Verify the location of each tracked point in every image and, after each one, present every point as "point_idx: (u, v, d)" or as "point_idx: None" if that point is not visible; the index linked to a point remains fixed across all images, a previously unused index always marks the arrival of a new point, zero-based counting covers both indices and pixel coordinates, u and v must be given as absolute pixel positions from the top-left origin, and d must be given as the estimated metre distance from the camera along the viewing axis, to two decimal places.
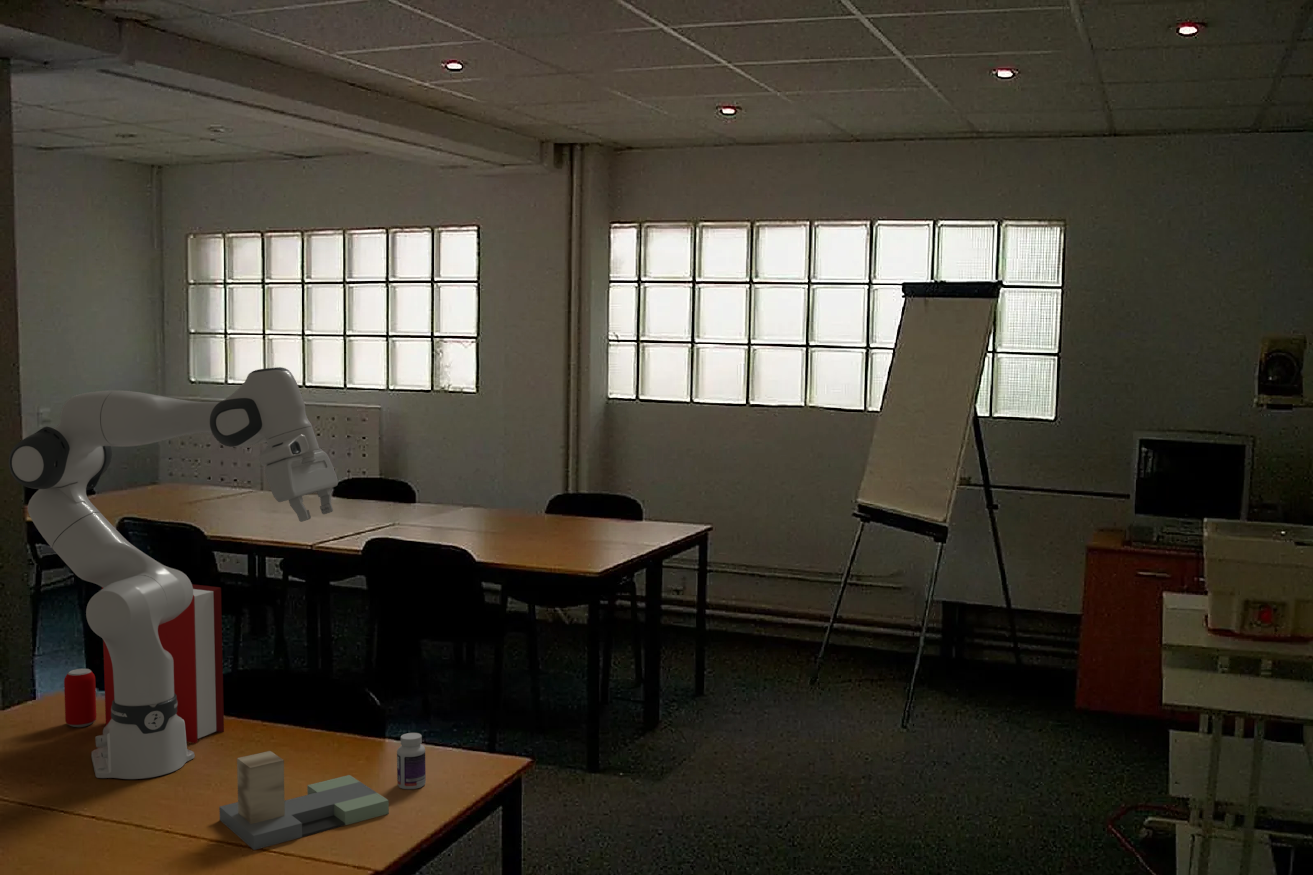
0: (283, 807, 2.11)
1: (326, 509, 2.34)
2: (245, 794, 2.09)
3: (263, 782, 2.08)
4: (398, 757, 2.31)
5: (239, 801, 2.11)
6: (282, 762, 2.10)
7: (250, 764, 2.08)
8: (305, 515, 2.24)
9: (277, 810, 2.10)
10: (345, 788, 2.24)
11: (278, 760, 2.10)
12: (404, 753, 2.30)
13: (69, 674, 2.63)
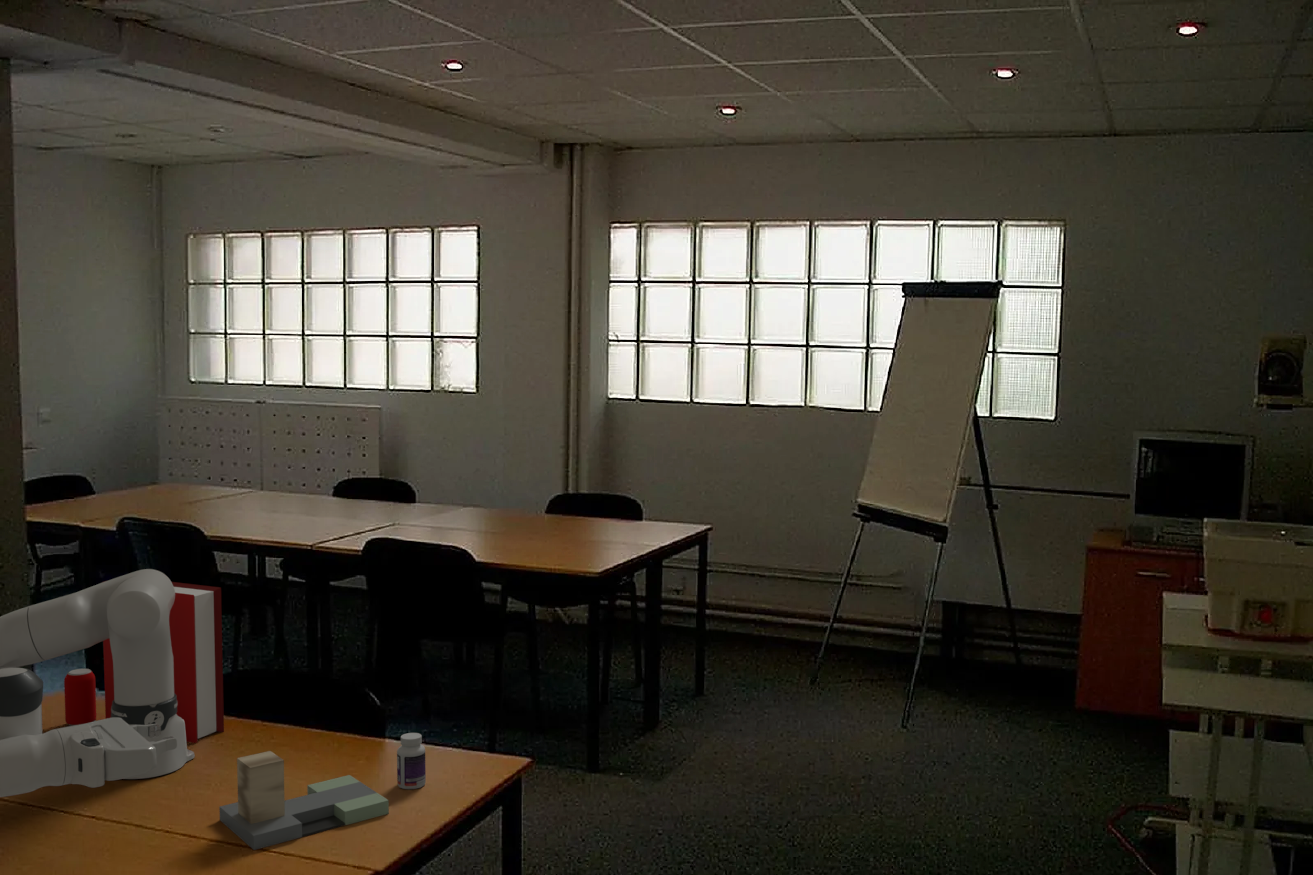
0: (283, 807, 2.11)
1: (155, 729, 2.02)
2: (245, 794, 2.09)
3: (263, 782, 2.08)
4: (398, 757, 2.31)
5: (239, 801, 2.11)
6: (282, 762, 2.10)
7: (250, 764, 2.08)
8: (171, 740, 1.96)
9: (277, 810, 2.10)
10: (345, 788, 2.24)
11: (278, 760, 2.10)
12: (404, 753, 2.30)
13: (69, 674, 2.63)
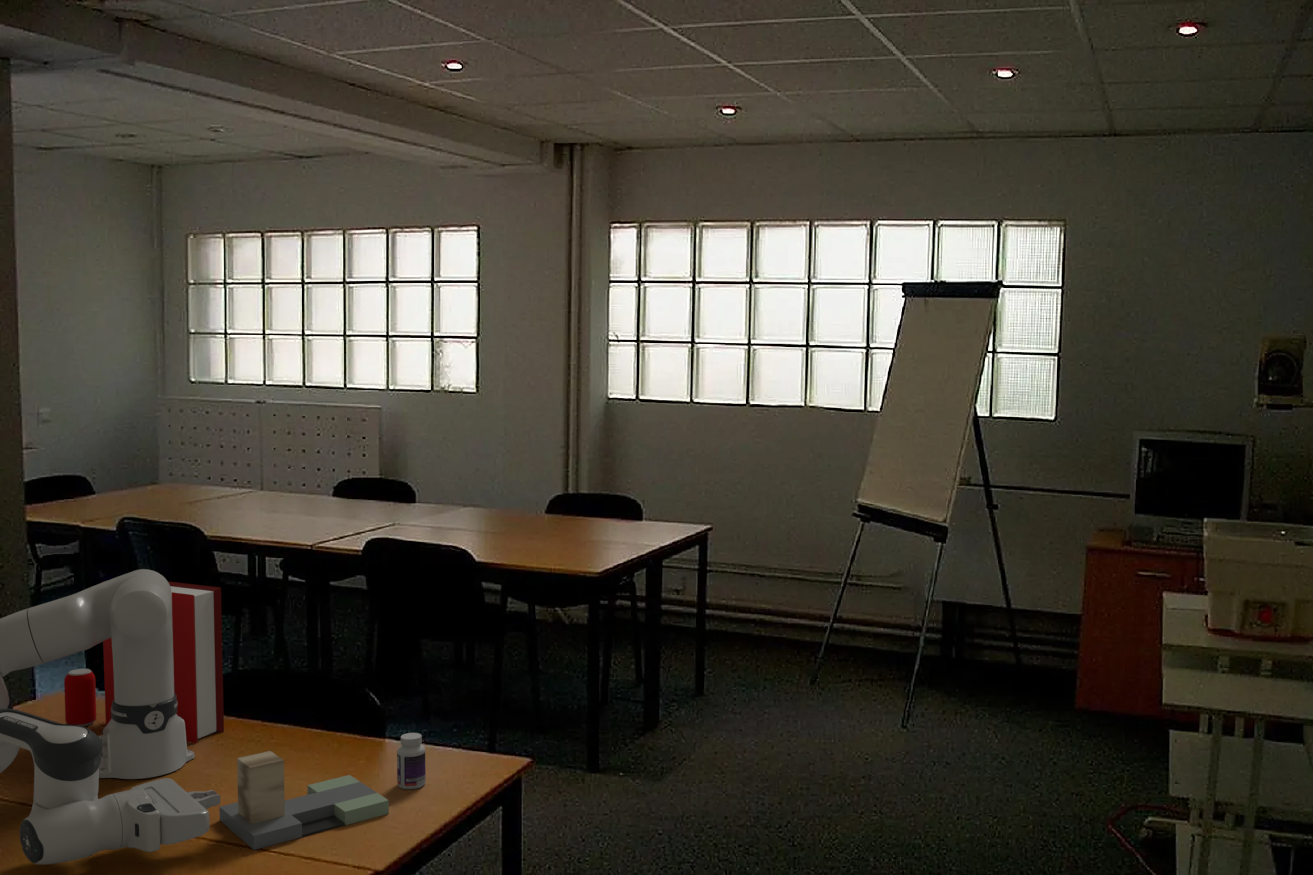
0: (283, 807, 2.11)
1: None
2: (245, 794, 2.09)
3: (263, 782, 2.08)
4: (398, 757, 2.31)
5: (239, 801, 2.11)
6: (282, 762, 2.10)
7: (250, 764, 2.08)
8: (214, 797, 2.05)
9: (277, 810, 2.10)
10: (345, 788, 2.24)
11: (278, 760, 2.10)
12: (404, 753, 2.30)
13: (69, 674, 2.63)
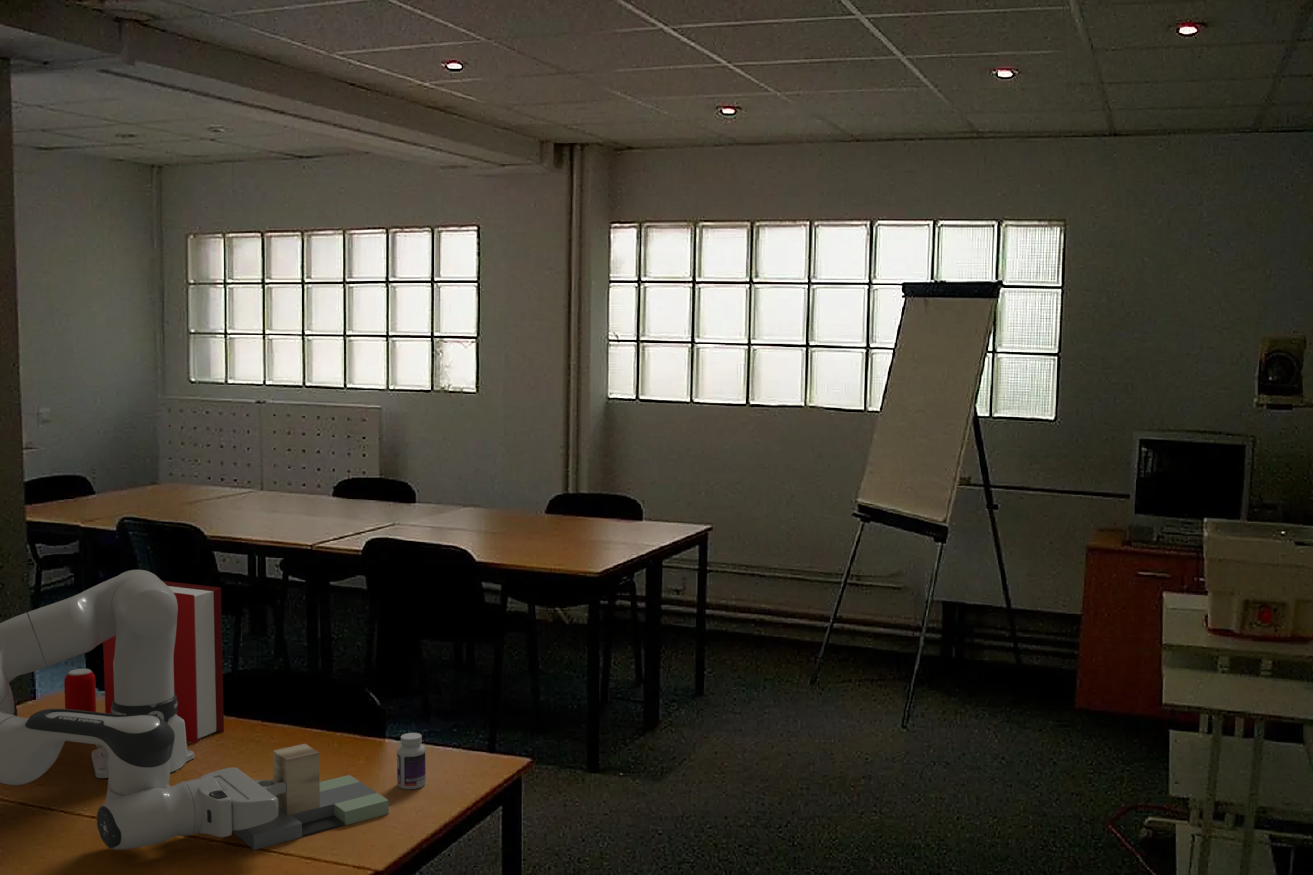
0: (318, 799, 2.15)
1: None
2: None
3: (299, 774, 2.12)
4: (398, 757, 2.31)
5: None
6: (317, 754, 2.14)
7: (286, 757, 2.12)
8: (281, 784, 2.10)
9: (312, 802, 2.14)
10: (345, 788, 2.24)
11: (313, 752, 2.14)
12: (404, 753, 2.30)
13: (69, 674, 2.63)
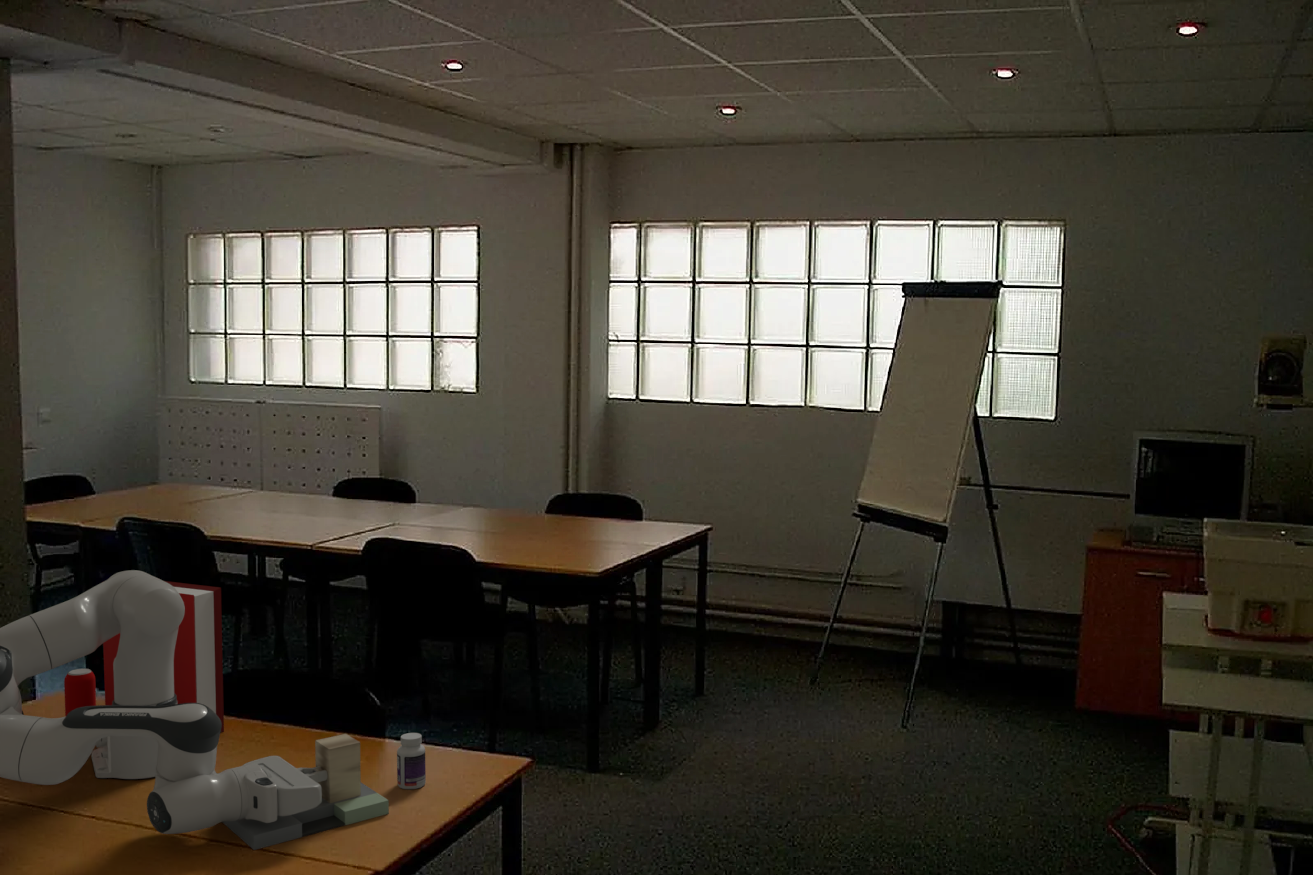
0: (359, 787, 2.21)
1: None
2: None
3: (341, 763, 2.18)
4: (398, 757, 2.31)
5: None
6: (359, 744, 2.20)
7: (329, 746, 2.17)
8: (322, 772, 2.16)
9: (354, 790, 2.20)
10: None
11: (354, 742, 2.20)
12: (404, 753, 2.30)
13: (69, 674, 2.63)
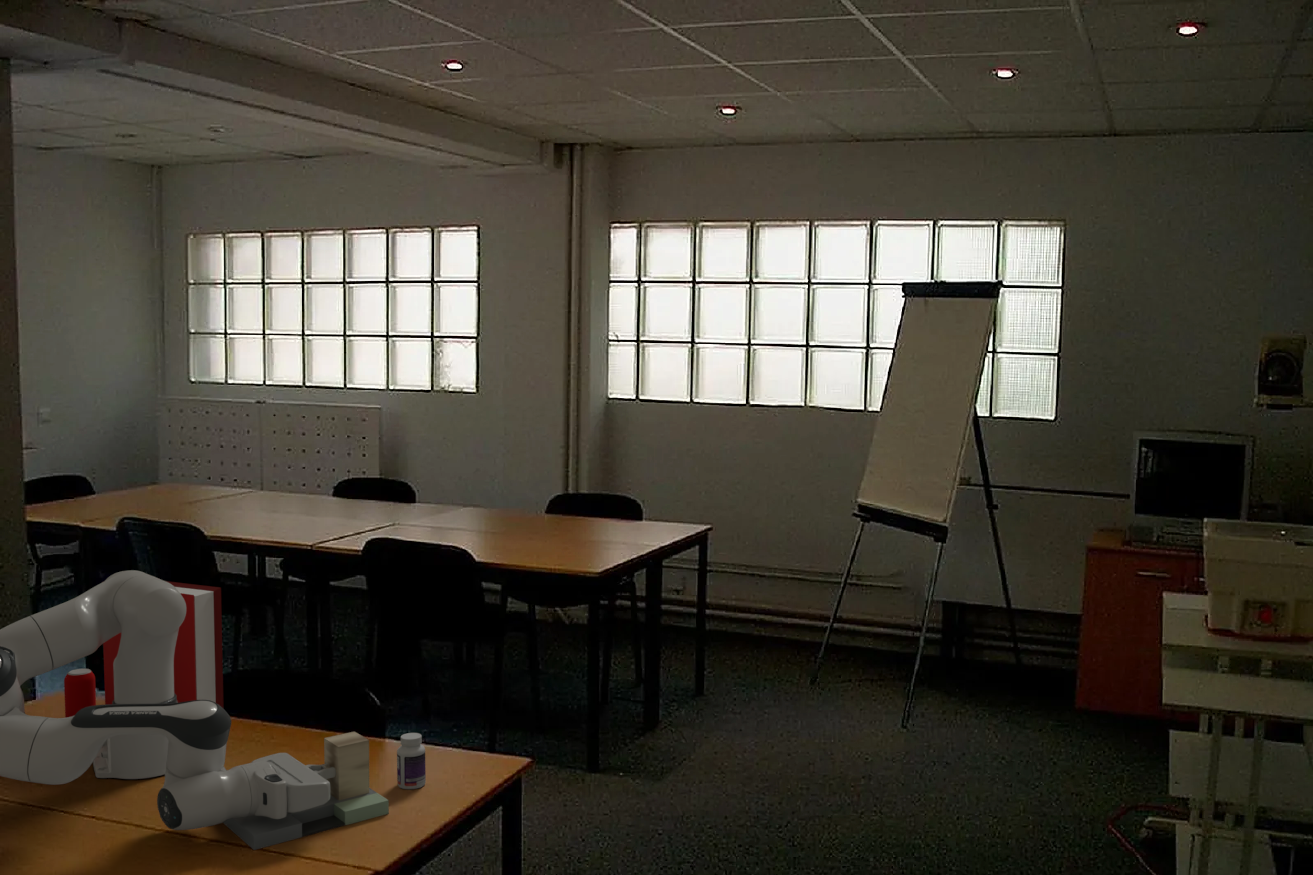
0: (368, 785, 2.22)
1: None
2: None
3: (350, 760, 2.19)
4: (398, 757, 2.31)
5: (326, 779, 2.22)
6: (367, 742, 2.21)
7: (338, 744, 2.19)
8: (330, 769, 2.18)
9: (362, 788, 2.21)
10: None
11: (363, 740, 2.21)
12: (404, 753, 2.30)
13: (69, 674, 2.63)
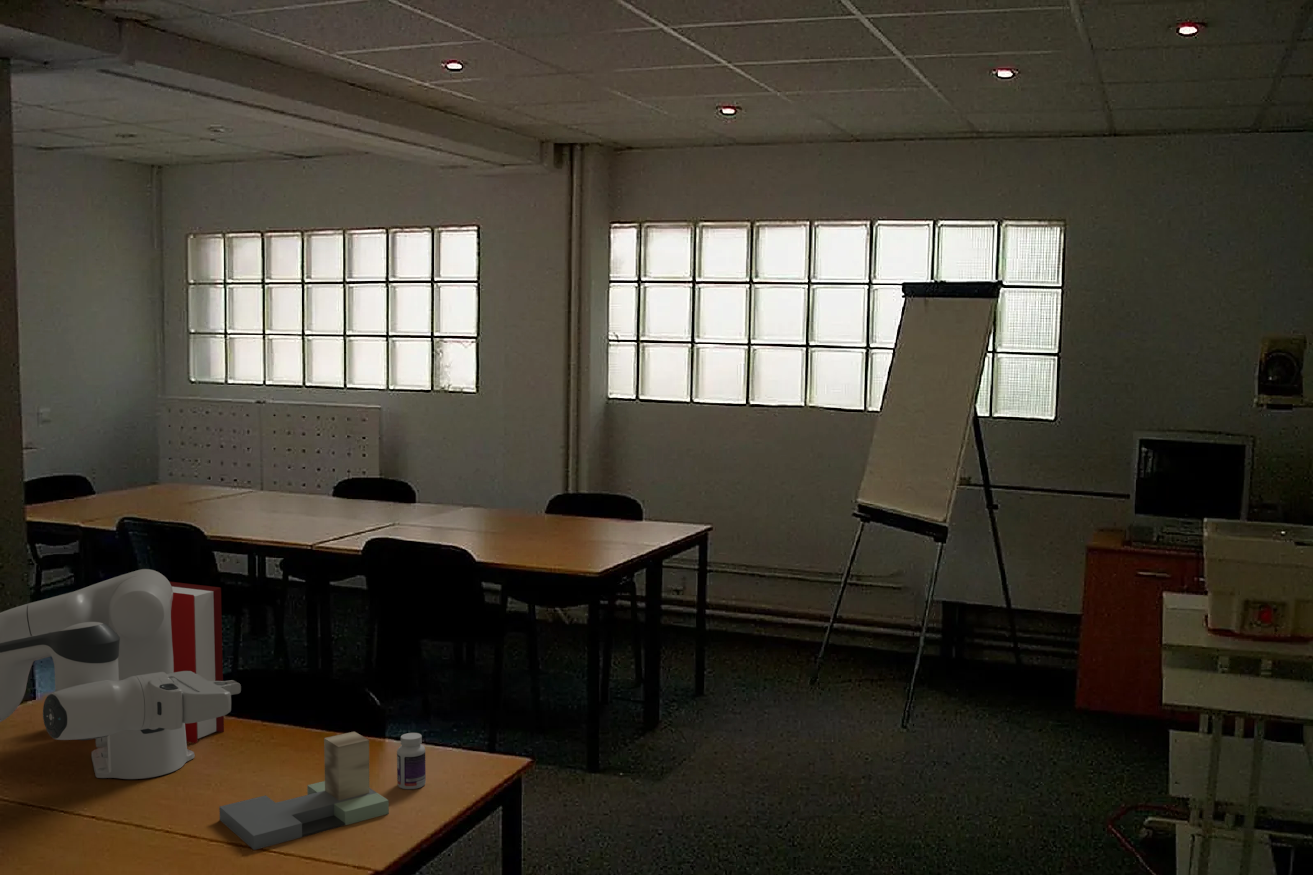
0: (368, 785, 2.22)
1: None
2: (333, 772, 2.20)
3: (350, 760, 2.19)
4: (398, 757, 2.31)
5: (326, 779, 2.22)
6: (367, 742, 2.21)
7: (338, 744, 2.19)
8: (235, 685, 2.06)
9: (362, 788, 2.21)
10: None
11: (363, 740, 2.21)
12: (404, 753, 2.30)
13: None
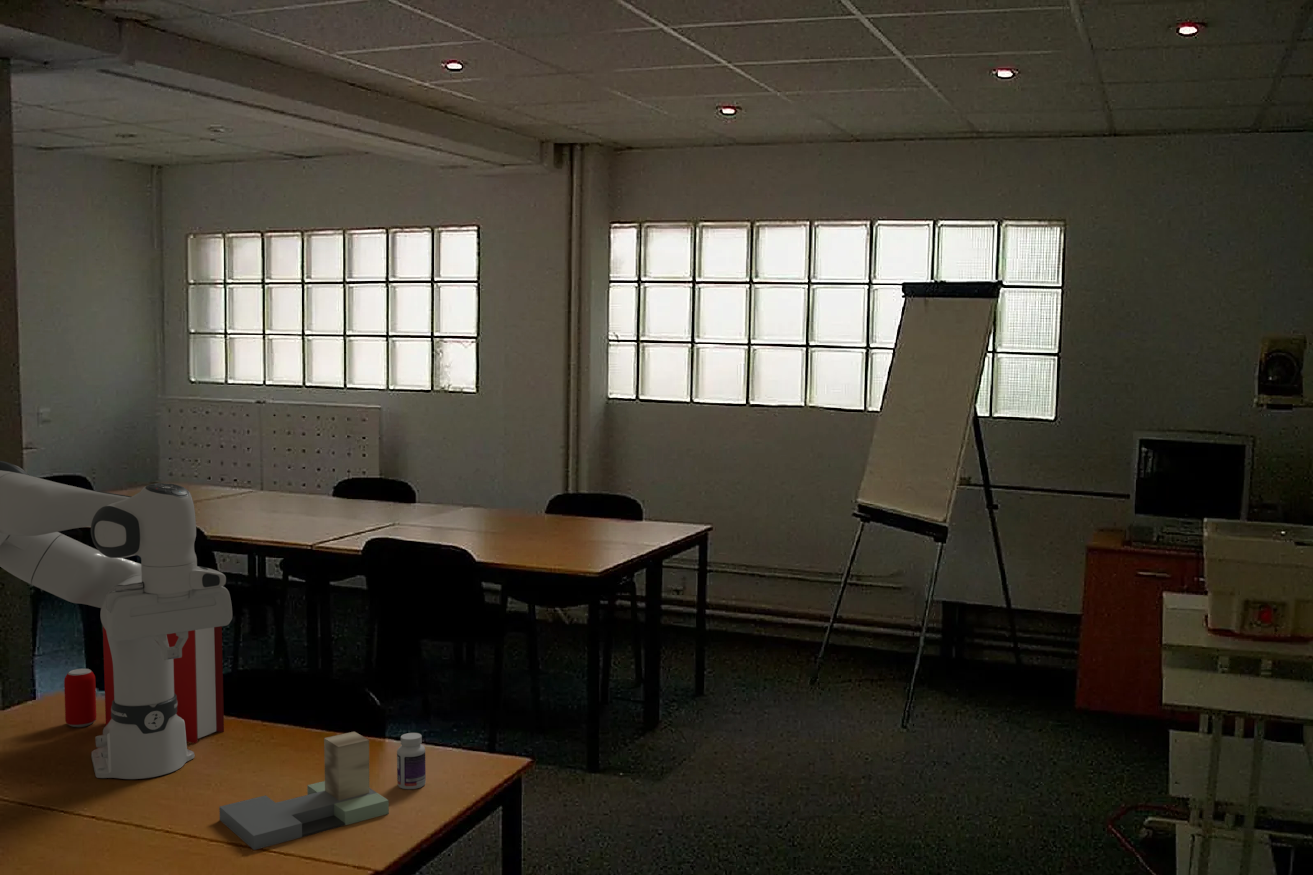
0: (368, 785, 2.22)
1: None
2: (333, 772, 2.20)
3: (350, 760, 2.19)
4: (398, 757, 2.31)
5: (326, 779, 2.22)
6: (367, 742, 2.21)
7: (338, 744, 2.19)
8: None
9: (362, 788, 2.21)
10: None
11: (363, 740, 2.21)
12: (404, 753, 2.30)
13: (69, 674, 2.63)
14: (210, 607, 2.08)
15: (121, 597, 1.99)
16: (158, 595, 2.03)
